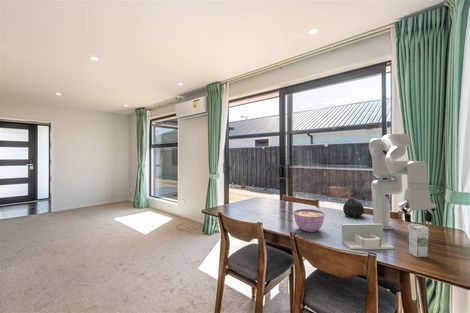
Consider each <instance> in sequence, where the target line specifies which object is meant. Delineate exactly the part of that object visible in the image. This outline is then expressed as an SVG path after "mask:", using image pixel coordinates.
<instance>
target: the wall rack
mask: <svg viewBox="0 0 470 313" xmlns="http://www.w3.org/2000/svg"><path fill="white" fill-rule="evenodd" d="M341 241H342V242H343V244H345V246H347V247H348V248H349V249H350V250H395V246H392V244H389V243H388V242H386V241H384V229H383V224H371V223H342V224H341Z"/></svg>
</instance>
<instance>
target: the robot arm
mask: <svg viewBox="0 0 470 313" xmlns="http://www.w3.org/2000/svg"><path fill="white" fill-rule="evenodd" d="M411 142H412V141H411V136H409V134H407V133H389V134H385V135H383V136H382V137H376V138H372V139H370V140H369V142H368V151H369V153H370V156H371V162H372V174H373V176H374V177H375V178H379V179H376V180H372V182H371V183H370V187H371V195H372V217H371V220H372V222H370V224H383V230H392V229H393V228H394V226H393V225H392V224H391V214H390V213H391V209H390V208H391V205H390V204H391V203H390V199H389V198H388V197H387V196H386V195H400V194H402V191H403V176H407V178H406V180H407V181H406V182H407V188H405V189H404V190H405V191H404V194H403V195H404V196H403V202H401V203H398V207H399V209H400V210H401V211H402V213H403V214H404V215H403V216H404V222H407V223H411V222H412V215H411V213H412V211H424V220H425V222H428V223H432V222H433V221H432V220H433V216H432V215H433V214H434V212H435V211H436V208H437V206H438V204H436V203H435V202H432V200H431V194H430V189H428V187H430V184H429V183H428V164H427V162H425V161H423V160H397V159H399V158H402V157H404V155H405V154H406V152H407V148H408V147H409V146H411ZM384 151H385V152H387V153H384Z"/></svg>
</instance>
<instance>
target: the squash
mask: <svg viewBox="0 0 470 313" xmlns="http://www.w3.org/2000/svg"><path fill="white" fill-rule="evenodd" d="M342 210H343V213H344V215H345V216H347V217H351V218H352V217H353V218H361V217H362V216H363V215H364V212H365V207H364V206H363V204H362V203H361V202H360V201H358V200H356V199H354V198H351V197H349V198H348V199H347V201H345V202H344V204H343V207H342Z"/></svg>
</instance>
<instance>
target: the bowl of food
mask: <svg viewBox="0 0 470 313" xmlns="http://www.w3.org/2000/svg"><path fill="white" fill-rule="evenodd" d="M292 213H293V217H294V221H295V224H296V225H297V227H298V228H299V229H301V230H303V231H304V232H307V233H314V232H316V231H318V230H320V229H321V228H322V227H323V224H324V221H325V216H326V214H325V212H324V211H322V210H320V209H319V210H318V209H313V208H312V209H311V208H300V209H299V208H298V209H295V210H293V212H292Z"/></svg>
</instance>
